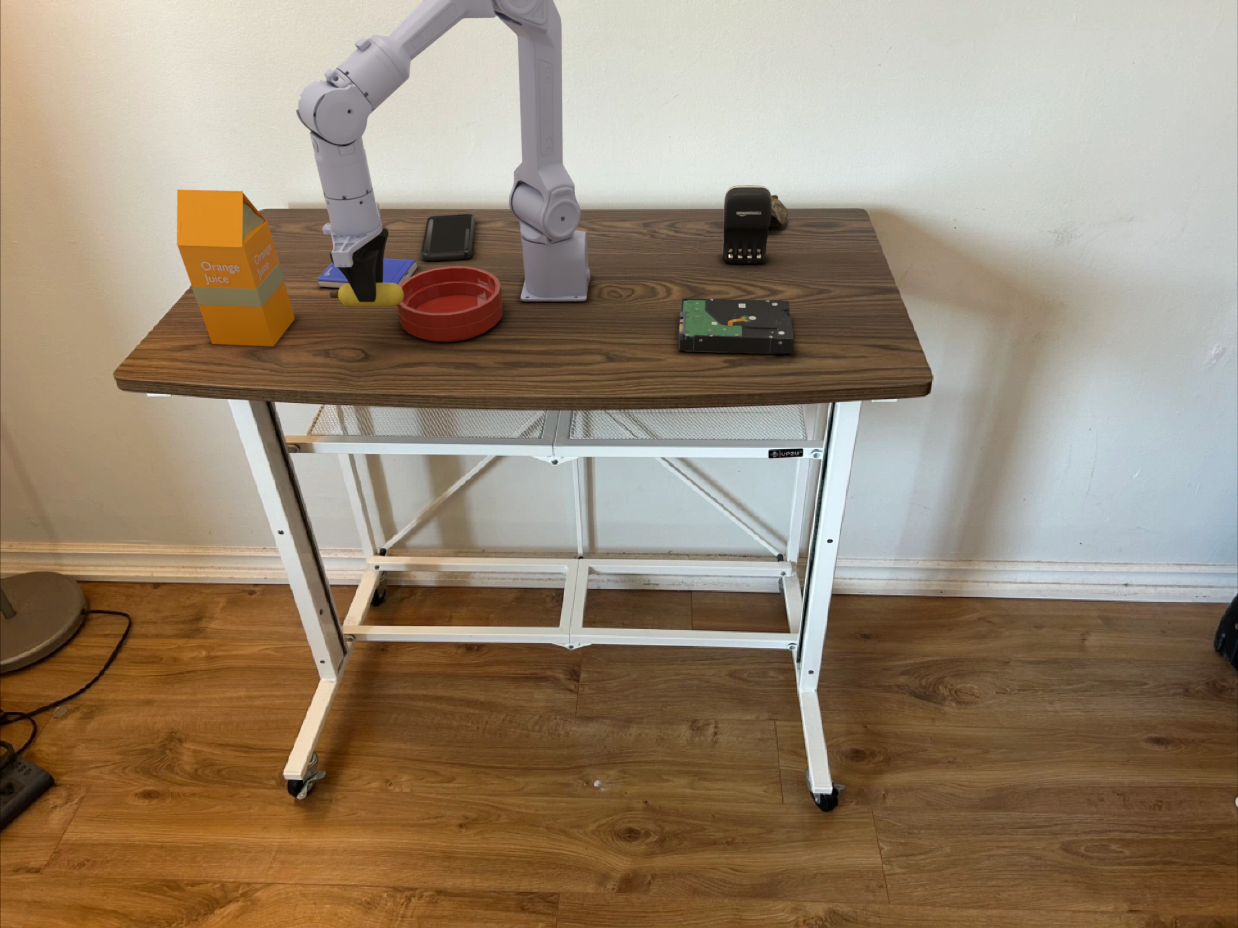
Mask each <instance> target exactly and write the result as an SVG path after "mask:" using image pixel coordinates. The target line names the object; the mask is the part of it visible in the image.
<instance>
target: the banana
mask: <svg viewBox="0 0 1238 928" xmlns="http://www.w3.org/2000/svg"><path fill="white" fill-rule="evenodd" d="M329 297H330V299H338V300H339V302H340V303H341V304H342V305H343V306H345V307H349V308H370V307H372V308H380V307H382V308H383V307H384V308H385V307H388V308H390V307H398V306H397V305H399V304H400V303H401V302H402V300H403V298H404V293H403V290H402V288H401V287H400V286H399V285H397V284H395V283H376V300H375V302H359V301H358V299H357V297H356V295H355V294H354V292H353V290H352V288H351V286H350V284H349V283H346V284H344V285H342V286H341V287H340V288H338V290H330V291H329Z"/></svg>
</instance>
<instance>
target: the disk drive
mask: <svg viewBox="0 0 1238 928" xmlns="http://www.w3.org/2000/svg"><path fill="white" fill-rule="evenodd" d="M790 305H791V304H790V301H789V300H780V299H768V300H767V299H738V298H737V299H735V298H734V299H733V298H703V297H701V298H700V297H699V298H698V297H697V298H692V297H691V298H690V297H686V298H685V297H681V300H680V312H679V327H678V350H679V351H684V352H701V353H702V352H704V353H733V354H735V353H737V354H761V355H762V354H764V355H766V354H767V355H772V354H773V355H777V354H779V355H785V354H792V353H793V346H794V339H795V337H794V331H793V323H792V316H791V307H790Z"/></svg>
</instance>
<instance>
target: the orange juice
mask: <svg viewBox="0 0 1238 928" xmlns="http://www.w3.org/2000/svg"><path fill="white" fill-rule="evenodd" d="M176 205H177V206H176V246H177V248H178V251H179V254H180V257H181V260H182V262H183V266H184V269H185V271H186V274H187V277H188V280H189V283H190V285H191V289H192V292H193V295H194V298H195V301H196V303H197V305H198V309H199V310H200V313H201V316H202V319H203V322H204V324H205V328H206V331H207V333H208V337H209V339H210V342H211V345H229V346H251V347H252V346H256V347H274V346H276V344H277V343H278V341H279V340H280V339H281V338H282V336H283V335H284V334H285V333H286V331H287V330H288V328H289V327H290V326H291V324H292V323H293V322H294V321H295V319H296V318H295V314H294V311H293V307H292V303H291V300H290V296H289V293H288V289H287V286H286V282H285V277H284V272H283V270H282V266H281V262H280V261H279V257H278V253H277V249H276V246H275V243H274V239H273V236H272V232H271V227H270V224H269V221H268V220H267V219H266V218H265V217H264V216H263V215H262V213H260V211H259V210H258V209H257V207H256V206H255V205H254V204H253V202H252V201H251V200H250V199H249V198H248V197H247V195H245V193H244V191H243V190H218V189H217V190H216V189H215V190H214V189H213V190H212V189H211V190H210V189H176Z"/></svg>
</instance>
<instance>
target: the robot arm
mask: <svg viewBox="0 0 1238 928" xmlns="http://www.w3.org/2000/svg"><path fill="white" fill-rule="evenodd" d="M496 17H497V18H498V19H499V20H500V21H501V22H502V23H504V24H505V26H506V27H508V29H510V30H511V31H512V32H513V33H514V34H515V35H516V37H517V57H518V58H517V59H518V60H517V61H518V83H519V110H520V138H521V139H520V140H521V162H520V164H519V165H518V166H516V168H515V169H514V171H513V185H512V188H511V189H510V193H509V197H508V206H509V209H510V212H511V213H512V215H513V216H514V217H515V218H516V219H518V222H519V225H518V226H519V229H520V241H521V251H522V261H523V272H524V273H523V274H524V282H523V285H522V289H521V294H520V301H521V302H585V301H587V298H588V292H589V291H588V290H589V282H590V281H591V269H590V268H589V246H588V245H589V244H588V233H587V232H586V231H585V230H577V228H578V226H579V224H580V222H581V216H582V215H581V214H582V213H581V207H580V203H579V202H578V200H577V197H576V186H575V182H574V181H573V179H572V178H571V176H570V174H569V172H568V170H567V169H566V168H565V165H564V151H563V150H564V146H563V145H564V144H563V143H564V142H563V141H564V139H563V130H564V129H563V47H562V46H563V33H562V27H563V26H562V18H561V15H560V13H559V11H558V7H557V6H556V3H555V1H554V0H422V1H421V2H420V3H419V4H418V5H417V6H416V7H415V8H414V9H413V10H412V11H411V13H410V14H408V15H407V16H406V17H405V18H404V20H403V21H401V23H399V25H398V26H397V27H396V28H395V29H394V30H393V31H392V32H391V33H390V34H389V35H380V34H371V35H370V37H369V38H366V37H364V36H360V38H359V39H357V40H356V41H355V43H354V46H355V48H356V49H355V50H354V51H353V52H352V53H351V54H349V56H348V57H347V58H346V59H344V60H343V61H342V62H341V63H340V64H339V65H338V66H337V67H336V68H335V69H332V68H328V70H326V71H325V72H324V77H325V80H319V81H317V80H315V81H313V82H311V83H309V84H307V85H306V86H305V87H304V88H303V90H302V91H301V93H300V95H299V97H300V99H298V103H297V106H298V107H297V108H296V110H295V114H296V116H297V118H298V120H299V121H300V123H301V124H302V125H303V126H304V127H305V128H306V129H308V130H309V131H310V132H309V135H310V141H311V144H312V145H311V146H312V149H313V153H314V160H315V164H316V168H317V172H318V177H319V181H320V186H321V189H322V193H323V198H324V202H325V205H326V209H327V215H328V218H329V222H327V223H325V224H324V225H323V227H322V228H321V230H322V235H323V234H324V235H326V236H327V235H328V236H331V242H332V250H331V251H330V253H329V258H330V261H331V263H333V264H334V266H335V267H337V268H338V269H339V270H340V271H341V272H342V273H343V275H344V276H345V277H346V279H347V280H348V282H349V284H350V286H351V288H352V290H353V292H354V294H355V295H356V297H357V299H358V301H359V302H375V300H376V283H383V259H384V258H385V251H386V245H387V241H388V237H389V235H390V234H389V233H390V232H389V230H388V228H386V227H385V228H384V227H383V223H382V220H381V218H382V213H381V208H380V203H379V202H377V201H376V197H375V192H374V188H373V182H372V178H371V173H370V168H369V164H368V159H367V153H366V149H365V146H364V141H363V135H364V133H365V131H366V129H367V125H368V118H369V117H370V115H371V114H372V113H373V112H374V111H375V110H376V109H378V108H379V106H381V105H382V104H383V103H384V102H385V101H386V100H387V99H388V98H390V96H392V95H393V94H394V93H395V92H396V91H397V90H398V89H399V88H401V86H402V85H404V84H405V83H406V81H408V80H409V78H410V75H411V74H410V73H411V63H412V61H413V60H414V59H415V58H417V57H418V56H419V55H420V54H422V53H423V52H424V51H425V50H426V49H427V48H429V47H430V46H431V45H432V44H434V43H435V42H437V41H438V39H440V38H442V37H443V36H444V35H445V34H446V33H447V32H449V30H452V28H454V26H456V25H457V24H458V23H460V22H461V21H462V20H464V19H494V18H496Z"/></svg>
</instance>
